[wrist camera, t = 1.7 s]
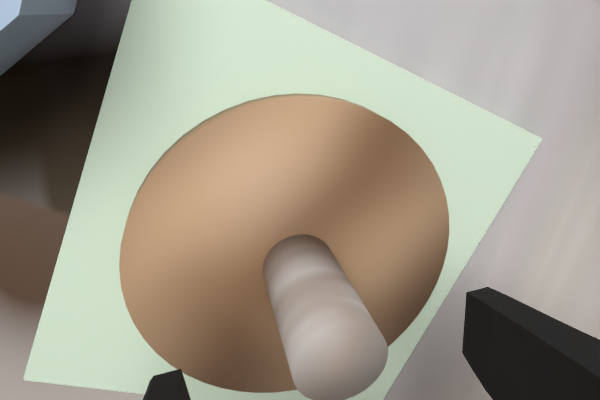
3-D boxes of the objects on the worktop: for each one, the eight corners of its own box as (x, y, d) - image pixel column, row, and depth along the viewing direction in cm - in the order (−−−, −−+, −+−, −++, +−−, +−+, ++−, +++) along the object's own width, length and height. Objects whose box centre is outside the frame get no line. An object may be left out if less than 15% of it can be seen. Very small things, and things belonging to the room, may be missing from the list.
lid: (490, 161, 15) (622, 226, 11) (357, 392, 18) (415, 520, 14) (187, 30, 11) (188, 42, 7) (83, 352, 14) (34, 514, 10)
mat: (536, 136, 16) (542, 138, 15) (367, 415, 20) (369, 420, 19) (149, -57, 11) (148, -59, 10) (25, 373, 14) (23, 379, 14)
